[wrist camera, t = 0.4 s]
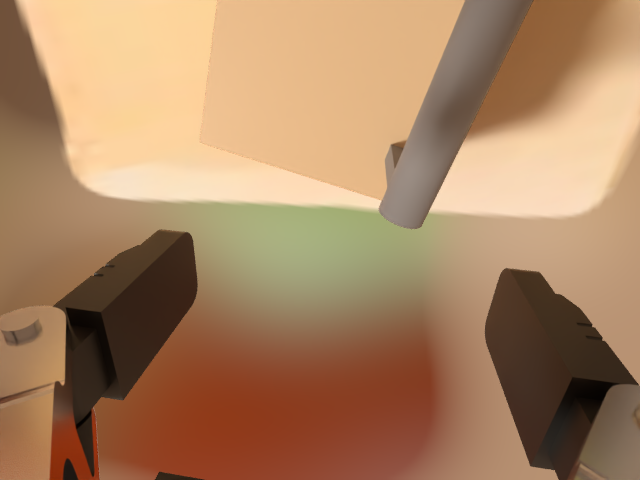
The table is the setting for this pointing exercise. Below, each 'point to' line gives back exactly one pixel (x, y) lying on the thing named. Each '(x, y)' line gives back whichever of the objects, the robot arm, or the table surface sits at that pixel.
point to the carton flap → (356, 89)
